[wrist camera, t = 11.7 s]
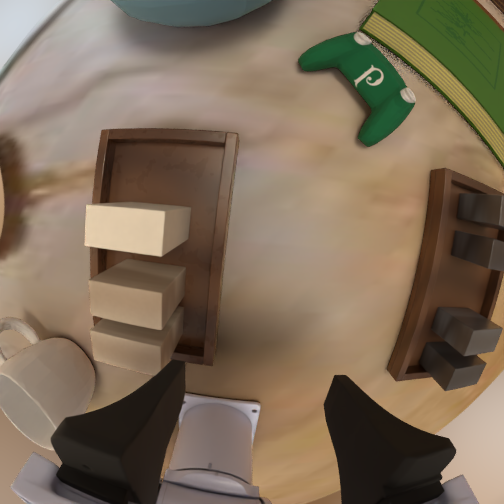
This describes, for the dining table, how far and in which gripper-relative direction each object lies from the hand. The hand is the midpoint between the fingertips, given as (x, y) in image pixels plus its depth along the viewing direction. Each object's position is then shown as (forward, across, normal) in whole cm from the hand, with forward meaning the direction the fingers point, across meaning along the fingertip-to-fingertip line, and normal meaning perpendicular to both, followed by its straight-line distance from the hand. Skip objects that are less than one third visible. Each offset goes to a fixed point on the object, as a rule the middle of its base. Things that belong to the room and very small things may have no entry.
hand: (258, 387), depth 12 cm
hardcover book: (+12, -21, -30) cm, 38 cm away
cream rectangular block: (+10, +8, -6) cm, 14 cm away
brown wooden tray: (+10, +8, -4) cm, 14 cm away
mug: (+10, +20, +9) cm, 24 cm away
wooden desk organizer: (+11, -20, -4) cm, 23 cm away
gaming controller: (+11, -6, -19) cm, 23 cm away
